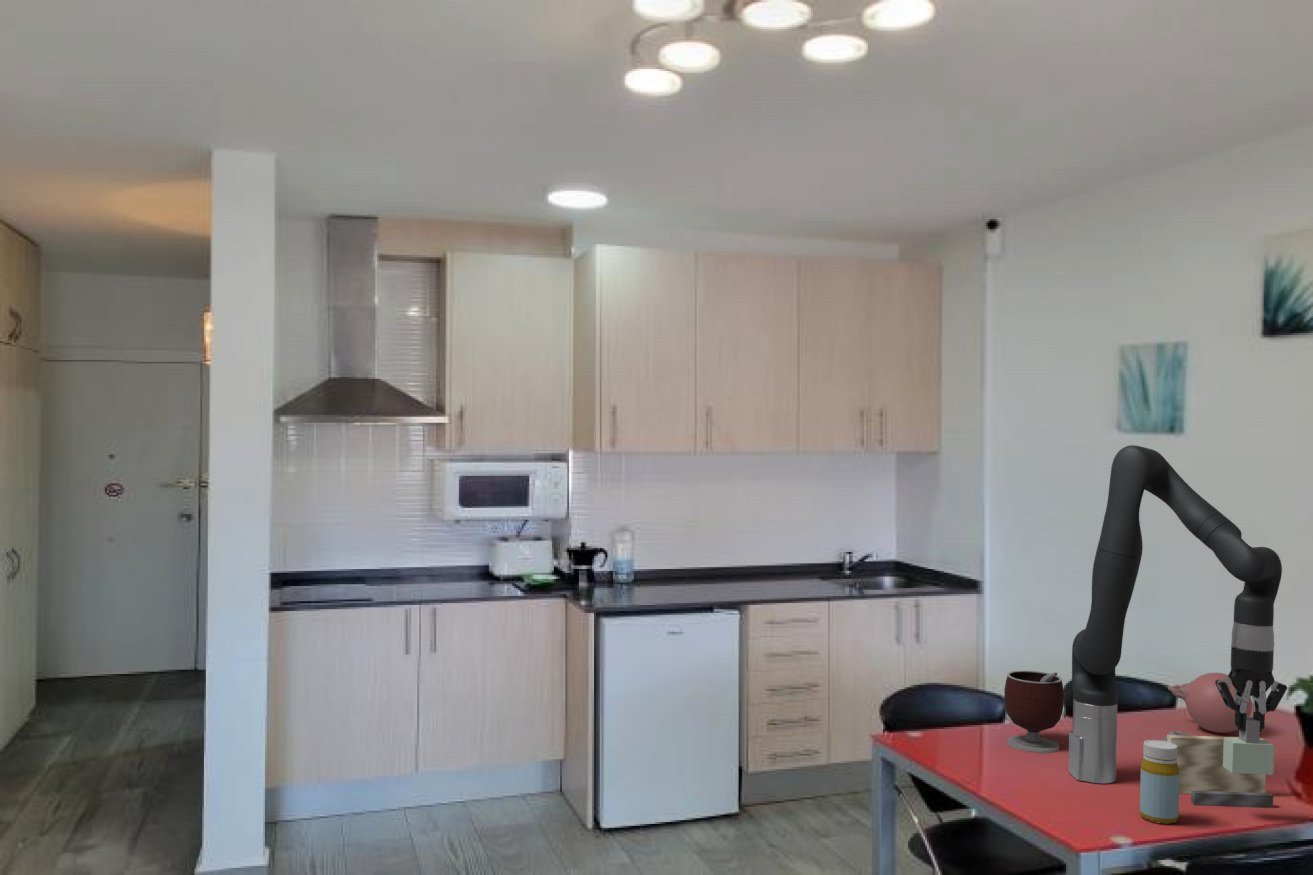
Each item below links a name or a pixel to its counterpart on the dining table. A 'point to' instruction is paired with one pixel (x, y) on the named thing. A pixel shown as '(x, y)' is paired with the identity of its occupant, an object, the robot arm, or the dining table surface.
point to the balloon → (1209, 703)
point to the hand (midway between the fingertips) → (1249, 730)
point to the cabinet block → (1248, 751)
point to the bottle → (1159, 782)
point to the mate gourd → (1034, 707)
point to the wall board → (1215, 775)
